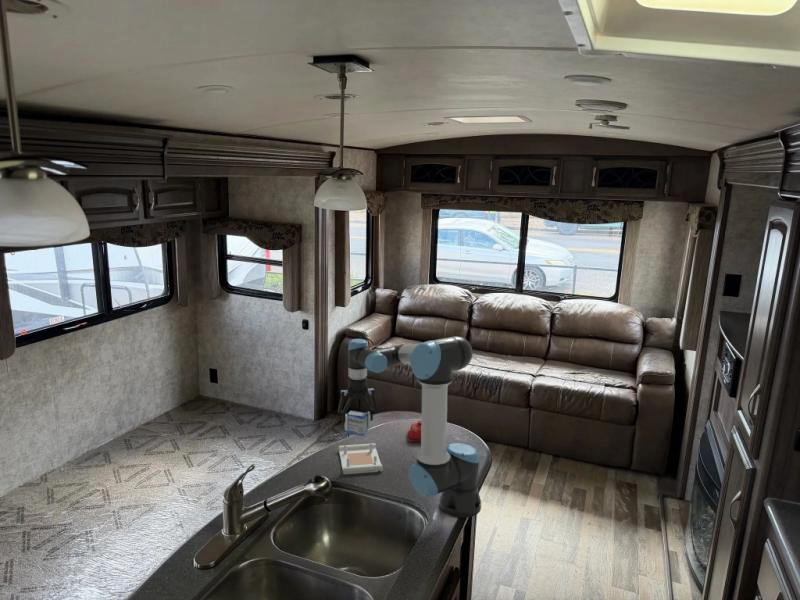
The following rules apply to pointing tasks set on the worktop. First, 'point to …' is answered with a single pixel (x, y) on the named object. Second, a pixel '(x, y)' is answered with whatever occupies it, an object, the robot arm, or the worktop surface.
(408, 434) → the butter dish
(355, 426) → the medicine box
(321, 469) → the worktop surface
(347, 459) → the pin tray
